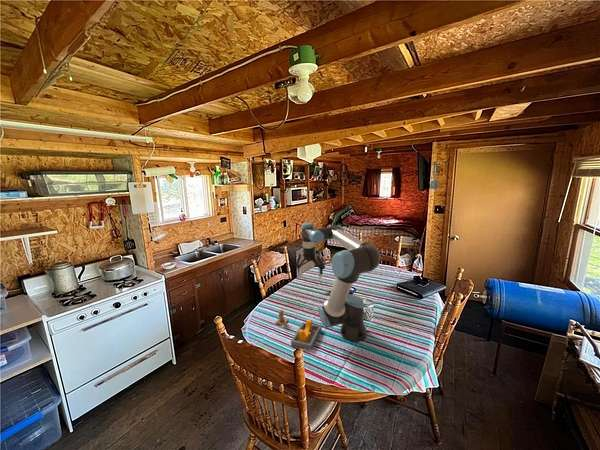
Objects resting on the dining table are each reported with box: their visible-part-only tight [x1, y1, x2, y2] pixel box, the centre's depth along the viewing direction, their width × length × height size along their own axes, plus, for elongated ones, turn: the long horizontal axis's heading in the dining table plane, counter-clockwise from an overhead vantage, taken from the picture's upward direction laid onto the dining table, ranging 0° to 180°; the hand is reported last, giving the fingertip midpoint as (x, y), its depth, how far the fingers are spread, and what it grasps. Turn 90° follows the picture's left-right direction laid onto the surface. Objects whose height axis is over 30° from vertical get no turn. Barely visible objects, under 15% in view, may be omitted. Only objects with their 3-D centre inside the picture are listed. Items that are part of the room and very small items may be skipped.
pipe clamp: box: [297, 319, 313, 343], centre depth 144 cm, size 12×4×6 cm, turn 152°
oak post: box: [275, 309, 289, 327], centre depth 159 cm, size 6×6×8 cm
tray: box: [290, 321, 322, 351], centre depth 144 cm, size 12×18×3 cm, turn 157°
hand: (310, 277), depth 162 cm, fingers open, 13 cm apart
